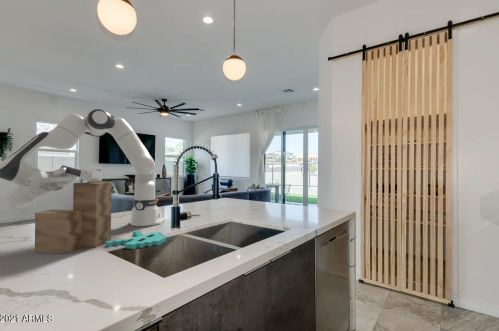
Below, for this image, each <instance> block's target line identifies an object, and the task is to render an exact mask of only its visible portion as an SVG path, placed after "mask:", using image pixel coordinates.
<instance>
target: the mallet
mask: <svg viewBox="0 0 499 331" xmlns="http://www.w3.org/2000/svg"><path fill="white" fill-rule="evenodd" d="M62 167H66V169H67V171H66V172H64V173H68V174H71V175H75V176H78V177H79V180H82V181H85V182H103V177H104V171H101V170H98V169H93V168H91V169H90V168H89V169H82V168H81V169H78V168H75V167H73V168H71V167H72V166H67V165H63V164H62V165H61V166H60V168H62ZM78 177H77V178H78Z"/></svg>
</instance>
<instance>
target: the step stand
mask: <svg viewBox="0 0 499 331" xmlns="http://www.w3.org/2000/svg"><path fill="white" fill-rule="evenodd" d="M72 184H73V185H72V186H73V190H72V191H73V192H72V195H73V196H72V197H73V198H72V200H73V201H72V209H49V210H44V211H38V212H34V253H44V254H45V253H46V254H48V253H49V254H68V253H70V252H73V251H75V250H78V249H80V248H92V249H93V248H95V249H96V248H98V247H100V246H102V245H104V244H105V245H106V242H107V241H112V239H111V238H112V189H113V188H112V187H113V186H112V184H113V182H112V181H107V182H105V181H95V182H89V181H85V182H84V181H83V182H73V183H72Z"/></svg>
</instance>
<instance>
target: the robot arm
mask: <svg viewBox="0 0 499 331" xmlns="http://www.w3.org/2000/svg"><path fill="white" fill-rule="evenodd" d="M106 133H108V134H110V135H111V136H112V137H113V138H114V140H115V142H116V143H117V145H118V146H119V148H120V150H122V152H123V153H124V155H125V157H126V158H127V160H128V161H129V163H130V164H131V166H132V168H133V169H134V171H135V174H134V176H135V177H134V197H133V198H134V199H133V204H132V205H133V208H131V212H130V220H129V221H128V224H130V226H132V227H133V226H134V227H149V226H156V225H157V226H158V225H161V224H162V223H163V222H165V221H166V217H163V216H162V209H161V208H160V207H158V206H157V204H158V203H159V199H158V198H156V162H155V160H154V158H153V157H152V155H151V154H150V153H149V151H148V149H147V148H146V147H145V145H144V144H143V142H142V141H141V139H140V137H139V136H138V134H137V132H135V130H134V129H133V127H132V126H131V125H130V124H129V122H128V121H126V120H125V119H124V118H123V117H114V116H113V115H111V114H110V113H108V112H107V111H105V110H104V109H102V108H96V109H93V110H91V111H90V112H88V114H87V117H85V116H82V115H80V114H77V113H70V114H67V116H65V117H64V118H63V119H62V120H61V121H60V122H58V124H57V125H56V126H55V127H54V128H53V129H51V130H50V131H42V132H40V133H38V134H36V135H35V136H33V137H32V138H31V139H29V140H28V141H27V142H26V143H25V144H23V145H22V146H21V147H20V148H19V149H17V150H16V151H15V152H14V153H12V154H11V155H9V156H8V157H6V158H5V159H4V160H2V161H1V162H0V179H1V180H4V181H8V182H11V183H14V184H16V185H18V186H17V187H16V188H14V189H13V190H12V191H10V192H9V193H8V194H7V195H6V201H7V202H8V203H9V205H12V206H14V207H17V208H23V207H26V206H29V205H31V204H32V203H34V202H36V201H38V200H39V199H40V198H41V197H44V196H47V195H48V194H51V193H52V192H55V191H59V190H62V189H64V188H65V186H67V185H69V184H70V183H72V182H74V181H75V180H77V179H78V176H75V175H71V174H68V173H64V172H66V171H67V169H66V167H62V168H61V167H60V168H59V169H58V168H57V169H55V170H42V169H40V168H37V167H35V166H33V165H31V164H29V163H28V162H26V159H28V158H29V157H30V156H31V155H32V154H34V152H36V151H37V150H38V149H40V148H43V147H47V148H52V149H53V148H54V149H57V150H68V149H71V148H73V147H74V146H75V145H76V144H77V142H78V141H79V140H80V138H81V137H82V136H83V135H85V134H86V135H90V136H92V137H96V138H97V137H102V136H104V135H105V134H106ZM70 167H71V168H74V167H73V166H70Z"/></svg>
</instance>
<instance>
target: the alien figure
mask: <svg viewBox="0 0 499 331" xmlns="http://www.w3.org/2000/svg"><path fill="white" fill-rule="evenodd" d="M132 236H133V237H132V238H124V239H116V240H111V241H107V242H106V243H105V247H109V248H111V247H113V246H117V247H118V246H121V245H124V246H123V247H124V249H127V250H128V249H131V250H135V249H137V248H145V247H152V246H160V245H162V244H163V243H166V242H167V237H166V236H165V235H163V233H161V232H158V231H150V232H149V233H147V234H143V233H142V232H141V230H134V231H132Z"/></svg>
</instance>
